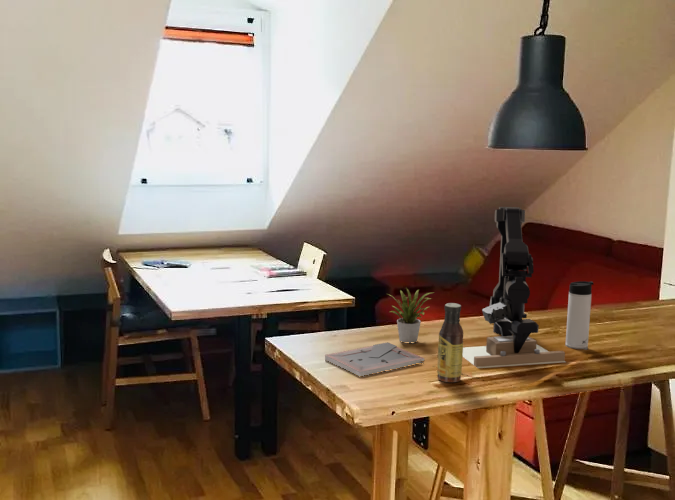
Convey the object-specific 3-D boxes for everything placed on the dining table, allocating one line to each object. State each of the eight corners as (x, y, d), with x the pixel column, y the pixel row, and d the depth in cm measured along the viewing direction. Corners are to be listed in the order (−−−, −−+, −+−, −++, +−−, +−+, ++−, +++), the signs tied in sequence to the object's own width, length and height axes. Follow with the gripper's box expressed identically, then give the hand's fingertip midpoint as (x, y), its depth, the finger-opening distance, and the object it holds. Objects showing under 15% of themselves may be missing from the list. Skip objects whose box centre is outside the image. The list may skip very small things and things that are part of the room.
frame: (486, 351, 217) (486, 336, 216) (525, 349, 220) (526, 333, 219) (495, 358, 212) (496, 342, 211) (535, 355, 214) (536, 339, 214)
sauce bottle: (434, 375, 202) (437, 301, 199) (458, 375, 203) (461, 301, 199) (439, 384, 196) (442, 307, 192) (464, 384, 196) (467, 307, 193)
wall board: (451, 350, 224) (452, 336, 223) (534, 345, 230) (535, 331, 229) (477, 370, 206) (478, 355, 206) (566, 364, 212) (567, 349, 212)
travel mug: (589, 352, 224) (594, 284, 220) (566, 350, 225) (570, 283, 222) (587, 346, 230) (592, 279, 226) (564, 344, 231) (568, 278, 228)
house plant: (445, 341, 232) (448, 288, 230) (417, 351, 222) (419, 295, 220) (408, 332, 242) (409, 280, 239) (379, 341, 232) (380, 287, 229)
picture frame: (387, 350, 226) (324, 362, 214) (387, 342, 225) (324, 354, 214) (424, 366, 212) (359, 380, 200) (424, 357, 212) (359, 371, 200)
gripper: (472, 288, 220) (470, 341, 223) (502, 304, 202) (499, 361, 205) (509, 286, 223) (506, 339, 225) (541, 302, 205) (537, 359, 207)
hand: (511, 349), depth 216 cm, fingers closed on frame, 6 cm apart
